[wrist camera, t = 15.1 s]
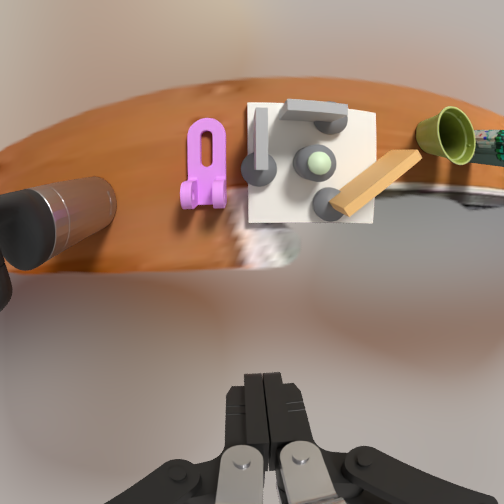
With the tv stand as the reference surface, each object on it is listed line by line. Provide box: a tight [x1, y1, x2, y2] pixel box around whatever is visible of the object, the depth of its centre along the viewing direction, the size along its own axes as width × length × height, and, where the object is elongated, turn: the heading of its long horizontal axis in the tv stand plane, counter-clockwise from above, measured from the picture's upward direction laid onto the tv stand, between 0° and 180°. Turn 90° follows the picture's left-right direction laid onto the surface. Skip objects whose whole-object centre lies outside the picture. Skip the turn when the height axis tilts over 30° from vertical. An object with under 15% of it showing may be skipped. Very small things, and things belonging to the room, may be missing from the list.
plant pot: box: [416, 106, 476, 165], centre depth 35 cm, size 9×9×9 cm
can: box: [469, 130, 504, 167], centre depth 32 cm, size 6×6×15 cm
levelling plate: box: [241, 99, 376, 223], centre depth 36 cm, size 21×18×10 cm
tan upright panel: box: [312, 150, 422, 222], centre depth 36 cm, size 16×5×8 cm, turn 128°
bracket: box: [180, 118, 227, 209], centre depth 37 cm, size 13×6×7 cm, turn 0°
